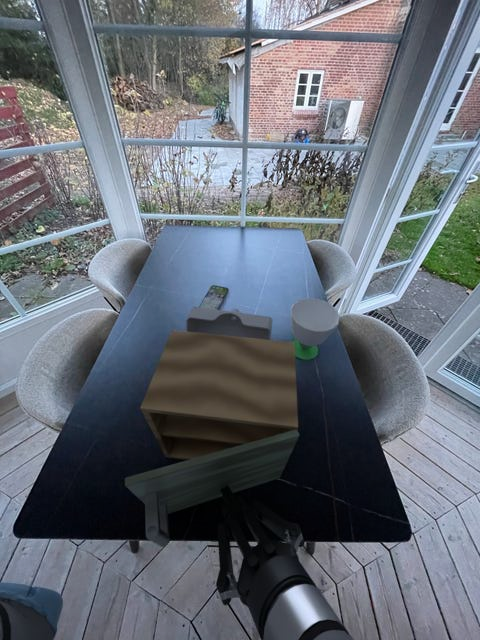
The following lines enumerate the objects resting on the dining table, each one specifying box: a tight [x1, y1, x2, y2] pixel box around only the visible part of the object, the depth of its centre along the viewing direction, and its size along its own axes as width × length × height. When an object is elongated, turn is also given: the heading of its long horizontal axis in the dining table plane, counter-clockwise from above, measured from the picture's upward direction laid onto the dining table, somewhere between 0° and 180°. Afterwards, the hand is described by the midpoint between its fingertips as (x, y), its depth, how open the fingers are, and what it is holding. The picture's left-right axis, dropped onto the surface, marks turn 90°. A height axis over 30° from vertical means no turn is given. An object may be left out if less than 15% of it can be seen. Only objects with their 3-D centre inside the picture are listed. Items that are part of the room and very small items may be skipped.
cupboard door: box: [124, 429, 300, 548], centre depth 46 cm, size 7×26×24 cm, turn 106°
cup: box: [290, 297, 341, 361], centre depth 80 cm, size 14×14×16 cm
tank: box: [185, 306, 273, 340], centre depth 83 cm, size 25×16×12 cm, turn 80°
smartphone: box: [198, 284, 229, 310], centre depth 101 cm, size 7×1×15 cm
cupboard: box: [140, 329, 299, 461], centre depth 59 cm, size 18×26×24 cm
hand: (226, 493), depth 50 cm, fingers closed
